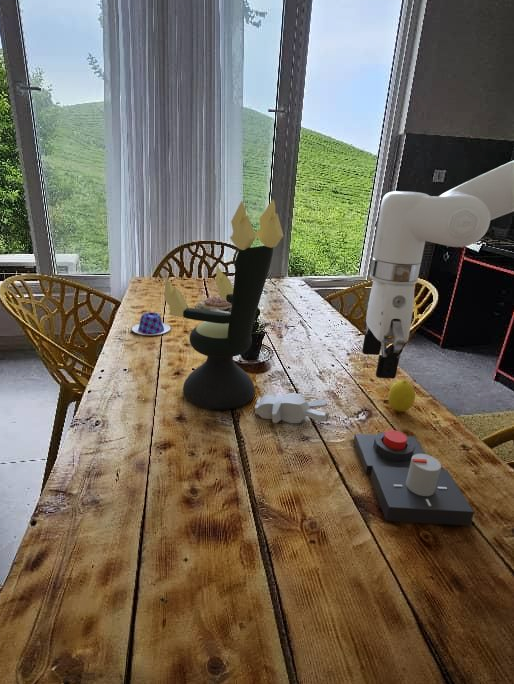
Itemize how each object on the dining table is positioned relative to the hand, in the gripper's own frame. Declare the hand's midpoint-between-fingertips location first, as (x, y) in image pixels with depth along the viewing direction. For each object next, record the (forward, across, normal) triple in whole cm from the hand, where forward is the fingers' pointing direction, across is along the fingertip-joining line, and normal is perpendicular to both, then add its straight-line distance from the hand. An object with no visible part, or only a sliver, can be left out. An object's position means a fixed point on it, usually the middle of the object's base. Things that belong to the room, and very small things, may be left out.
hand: (377, 365), depth 79 cm
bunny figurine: (+19, +10, +13) cm, 25 cm away
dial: (+15, -13, -6) cm, 21 cm away
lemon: (+19, +16, -12) cm, 27 cm away
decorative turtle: (+19, +82, +34) cm, 91 cm away
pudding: (+19, +58, +53) cm, 81 cm away
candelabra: (+19, +18, +27) cm, 38 cm away
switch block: (+18, -2, -5) cm, 19 cm away
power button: (+15, -2, -5) cm, 16 cm away
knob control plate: (+18, -13, -6) cm, 24 cm away
